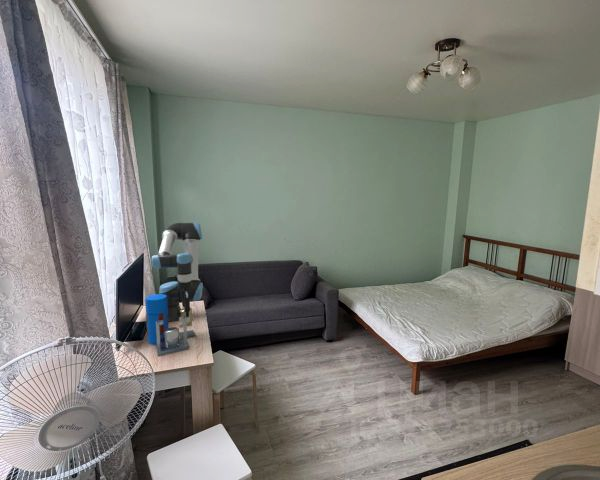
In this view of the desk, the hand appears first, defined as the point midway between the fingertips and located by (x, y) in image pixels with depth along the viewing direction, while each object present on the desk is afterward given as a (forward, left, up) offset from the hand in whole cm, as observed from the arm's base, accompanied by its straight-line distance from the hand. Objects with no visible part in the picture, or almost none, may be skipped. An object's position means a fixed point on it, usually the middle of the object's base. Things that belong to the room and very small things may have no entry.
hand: (186, 319), depth 175 cm
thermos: (-1, -15, -10) cm, 18 cm away
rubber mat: (0, 0, -10) cm, 10 cm away
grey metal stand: (+12, -9, -10) cm, 18 cm away
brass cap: (0, 0, -3) cm, 3 cm away
